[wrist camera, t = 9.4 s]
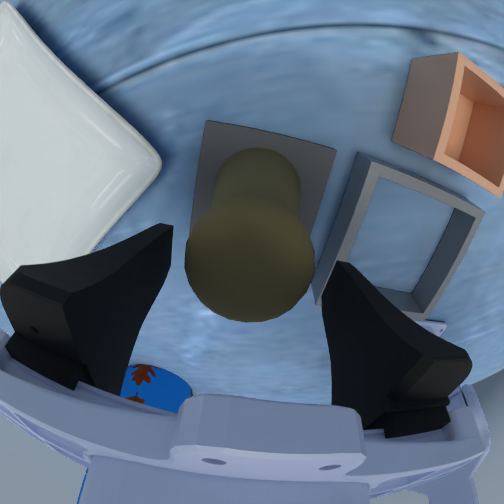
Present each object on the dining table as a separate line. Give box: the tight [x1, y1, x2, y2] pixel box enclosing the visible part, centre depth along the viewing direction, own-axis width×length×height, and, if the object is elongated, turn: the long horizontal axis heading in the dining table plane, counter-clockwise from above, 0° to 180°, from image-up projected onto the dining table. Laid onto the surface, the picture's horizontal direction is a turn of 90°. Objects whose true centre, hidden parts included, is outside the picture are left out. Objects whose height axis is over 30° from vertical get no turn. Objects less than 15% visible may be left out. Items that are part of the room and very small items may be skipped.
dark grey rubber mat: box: [189, 120, 337, 236], centre depth 20 cm, size 9×9×1 cm
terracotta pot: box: [391, 52, 504, 198], centre depth 13 cm, size 7×7×6 cm
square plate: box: [0, 1, 162, 283], centre depth 18 cm, size 27×27×4 cm
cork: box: [184, 148, 315, 322], centre depth 14 cm, size 6×6×11 cm
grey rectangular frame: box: [311, 152, 485, 321], centre depth 20 cm, size 12×12×3 cm
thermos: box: [77, 364, 193, 504], centre depth 24 cm, size 11×11×25 cm
